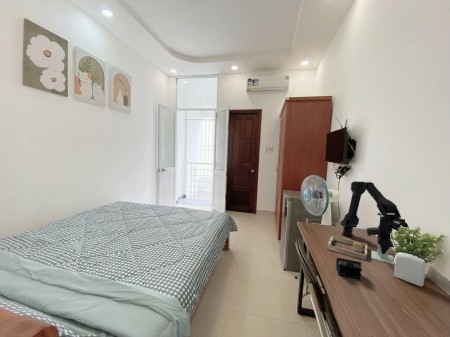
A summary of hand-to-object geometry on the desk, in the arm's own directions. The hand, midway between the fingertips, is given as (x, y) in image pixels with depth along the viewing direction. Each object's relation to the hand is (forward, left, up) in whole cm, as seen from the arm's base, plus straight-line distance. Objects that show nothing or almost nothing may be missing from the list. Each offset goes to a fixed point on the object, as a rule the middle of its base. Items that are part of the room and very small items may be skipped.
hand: (382, 252), depth 115 cm
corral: (0, -17, -3) cm, 17 cm away
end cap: (+30, -14, -4) cm, 33 cm away
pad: (0, 0, -3) cm, 3 cm away
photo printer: (+18, +9, -3) cm, 20 cm away
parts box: (0, 0, -1) cm, 1 cm away
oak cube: (-2, -12, -3) cm, 13 cm away
